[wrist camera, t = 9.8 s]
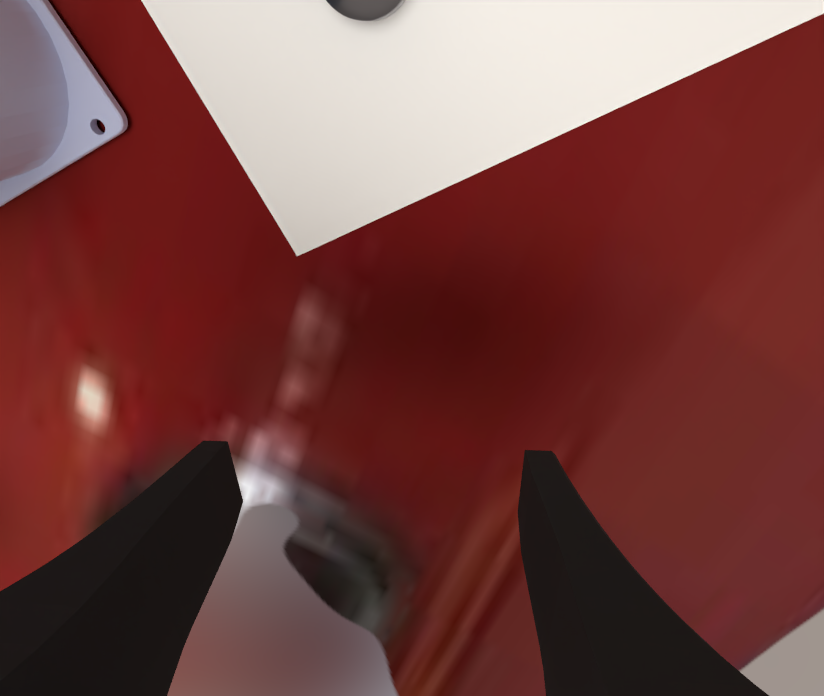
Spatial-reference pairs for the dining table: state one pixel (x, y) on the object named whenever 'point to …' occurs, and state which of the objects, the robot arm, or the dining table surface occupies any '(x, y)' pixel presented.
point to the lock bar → (366, 8)
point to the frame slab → (430, 86)
